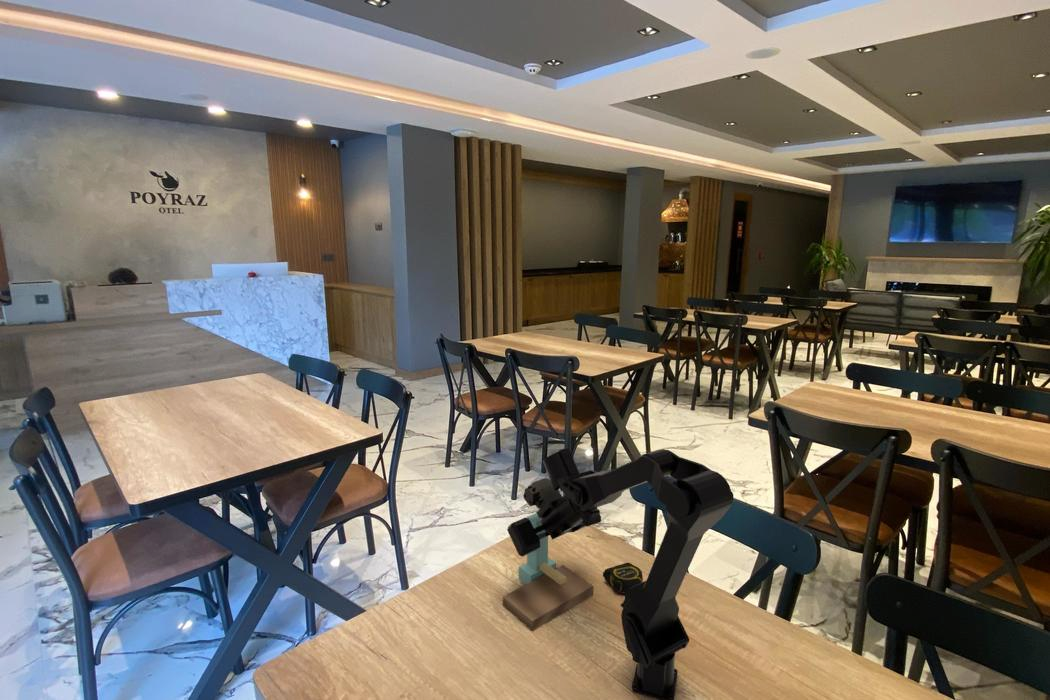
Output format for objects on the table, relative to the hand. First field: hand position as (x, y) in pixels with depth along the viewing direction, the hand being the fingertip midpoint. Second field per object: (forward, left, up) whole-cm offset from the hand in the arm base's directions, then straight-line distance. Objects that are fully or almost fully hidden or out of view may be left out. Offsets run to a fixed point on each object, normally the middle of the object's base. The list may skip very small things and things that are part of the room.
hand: (533, 538), depth 112 cm
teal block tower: (-2, -4, -8) cm, 9 cm away
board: (-7, -6, -8) cm, 12 cm away
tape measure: (+3, -19, -9) cm, 21 cm away
